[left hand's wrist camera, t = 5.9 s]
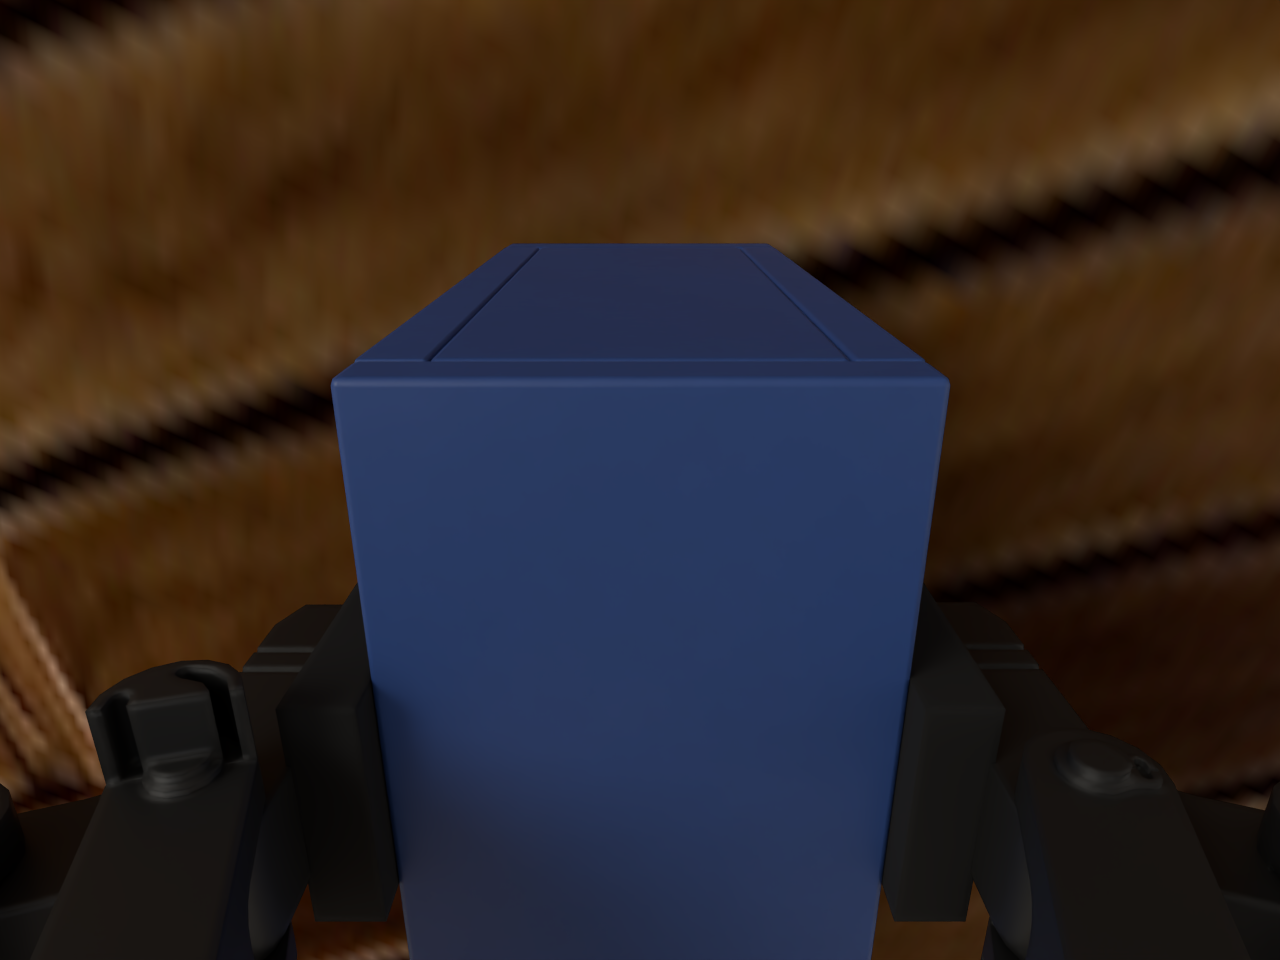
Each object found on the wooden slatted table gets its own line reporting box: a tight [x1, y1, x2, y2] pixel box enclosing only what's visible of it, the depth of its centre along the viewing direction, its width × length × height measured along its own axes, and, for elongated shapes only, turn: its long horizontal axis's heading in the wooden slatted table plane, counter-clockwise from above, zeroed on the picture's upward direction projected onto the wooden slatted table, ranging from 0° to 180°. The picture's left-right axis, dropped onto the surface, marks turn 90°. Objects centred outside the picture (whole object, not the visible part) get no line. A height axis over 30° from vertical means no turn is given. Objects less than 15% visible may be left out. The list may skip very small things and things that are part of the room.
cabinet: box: [331, 244, 950, 960], centre depth 16 cm, size 19×5×11 cm, turn 0°
